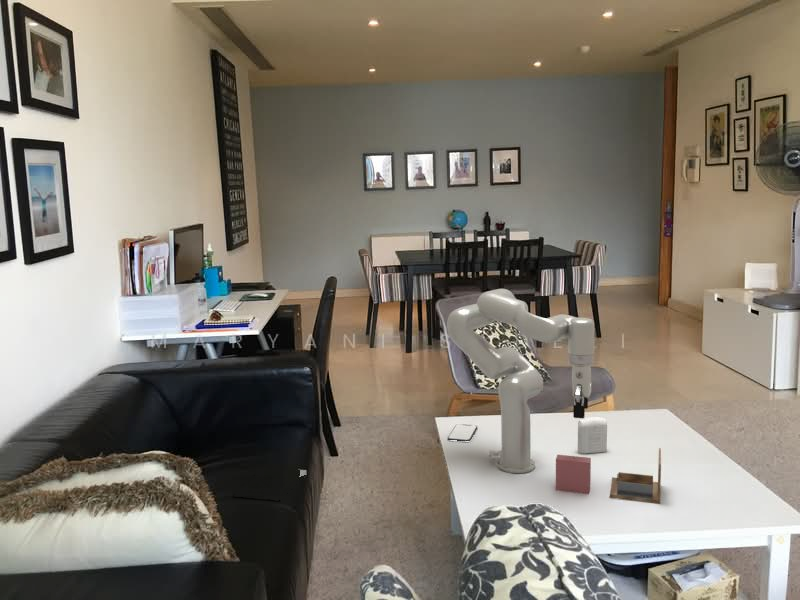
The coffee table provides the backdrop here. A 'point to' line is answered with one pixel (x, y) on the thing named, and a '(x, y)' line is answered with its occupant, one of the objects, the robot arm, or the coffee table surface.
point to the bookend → (635, 490)
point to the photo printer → (592, 435)
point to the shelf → (641, 480)
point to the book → (573, 474)
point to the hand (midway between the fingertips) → (580, 412)
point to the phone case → (462, 432)
